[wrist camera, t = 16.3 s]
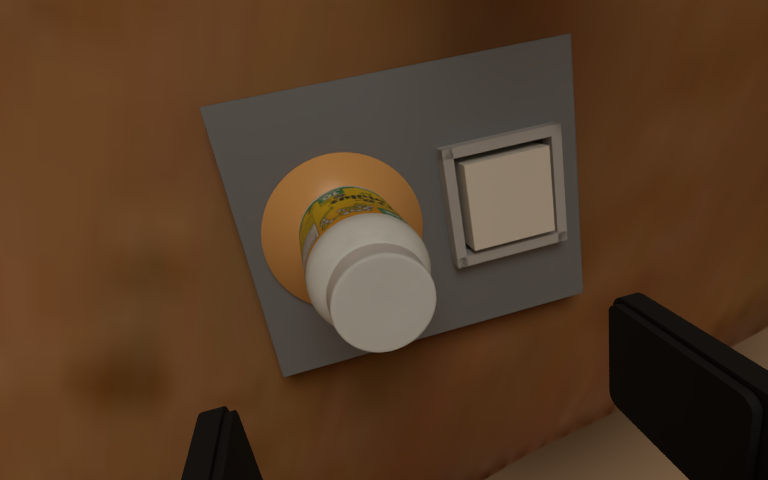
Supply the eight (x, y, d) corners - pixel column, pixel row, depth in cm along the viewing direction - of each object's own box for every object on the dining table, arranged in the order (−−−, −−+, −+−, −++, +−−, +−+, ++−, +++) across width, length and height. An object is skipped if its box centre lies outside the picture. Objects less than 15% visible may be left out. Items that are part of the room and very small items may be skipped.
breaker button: (524, 140, 28) (549, 145, 26) (530, 217, 30) (554, 230, 27) (446, 158, 28) (464, 165, 25) (457, 236, 29) (475, 251, 27)
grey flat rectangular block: (551, 37, 27) (581, 31, 25) (565, 281, 33) (592, 298, 30) (205, 106, 25) (196, 108, 22) (283, 359, 30) (283, 387, 27)
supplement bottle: (289, 266, 26) (293, 360, 17) (310, 172, 24) (328, 219, 15) (381, 283, 27) (430, 377, 18) (406, 195, 26) (472, 250, 17)
